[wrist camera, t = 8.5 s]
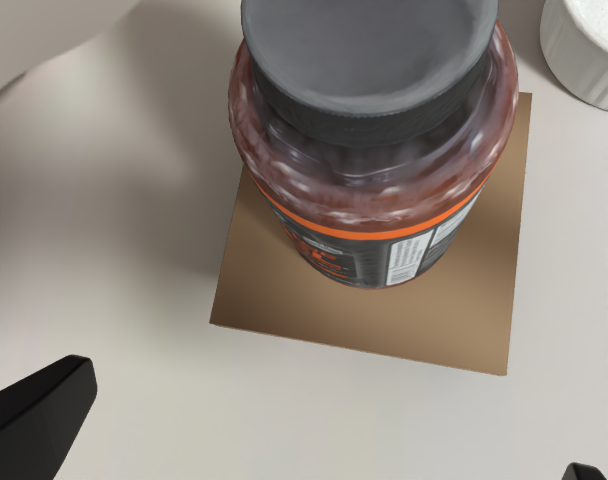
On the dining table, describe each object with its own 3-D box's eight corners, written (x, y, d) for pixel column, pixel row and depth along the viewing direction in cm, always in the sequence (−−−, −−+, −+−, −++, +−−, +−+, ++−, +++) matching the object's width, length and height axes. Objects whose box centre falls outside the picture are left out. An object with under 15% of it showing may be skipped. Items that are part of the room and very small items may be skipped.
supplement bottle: (254, 212, 20) (100, 4, 9) (370, 103, 20) (362, -224, 9) (372, 331, 18) (362, 258, 7) (495, 209, 18) (664, -35, 8)
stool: (482, 376, 21) (506, 375, 17) (237, 332, 23) (209, 323, 19) (506, 140, 23) (532, 93, 19) (281, 117, 25) (264, 69, 21)
